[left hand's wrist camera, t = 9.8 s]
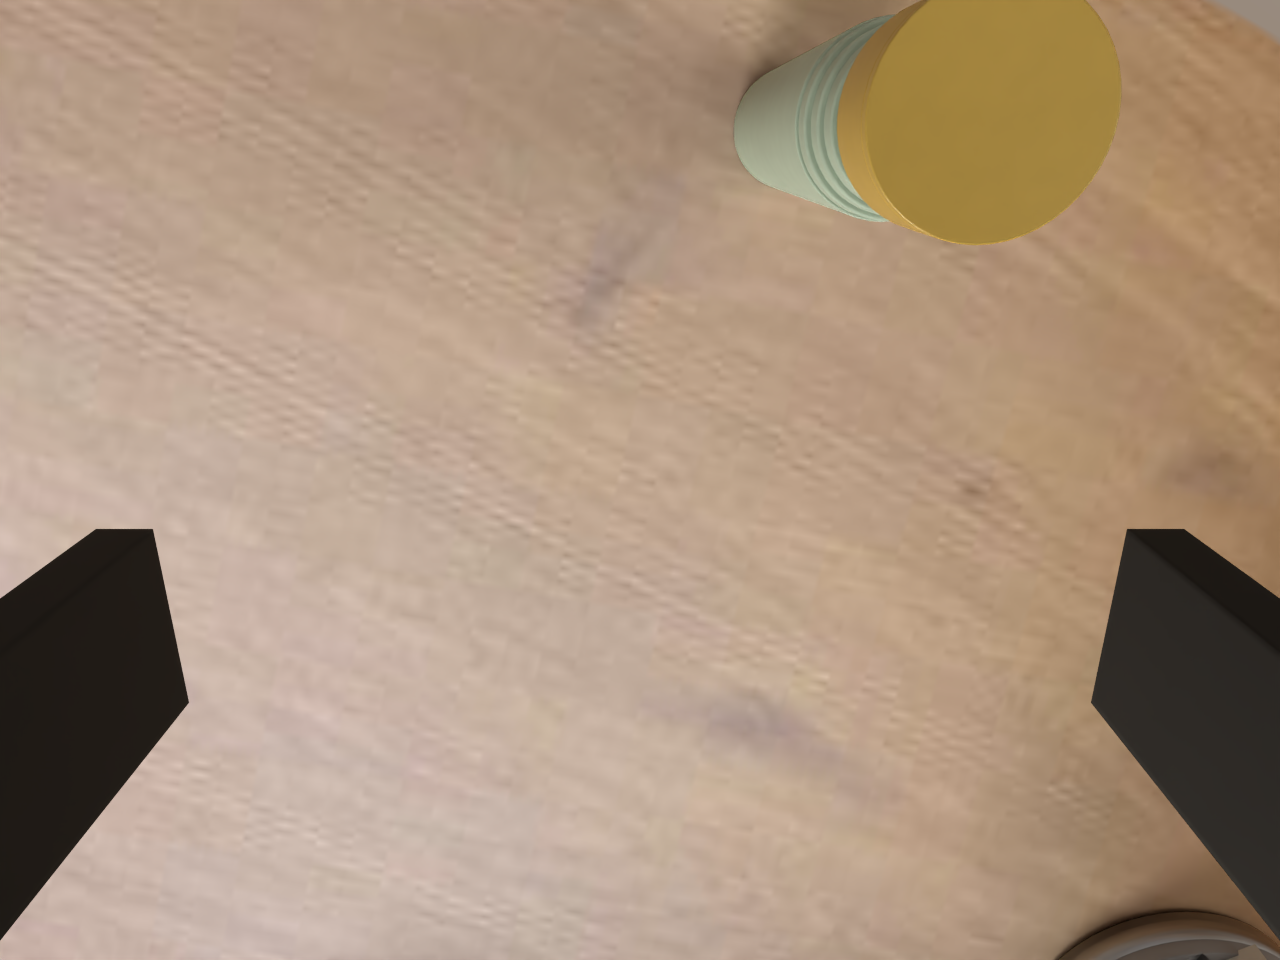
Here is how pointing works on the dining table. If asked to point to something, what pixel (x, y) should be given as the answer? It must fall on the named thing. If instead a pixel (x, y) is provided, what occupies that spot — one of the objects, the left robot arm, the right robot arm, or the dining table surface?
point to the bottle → (804, 124)
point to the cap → (980, 115)
